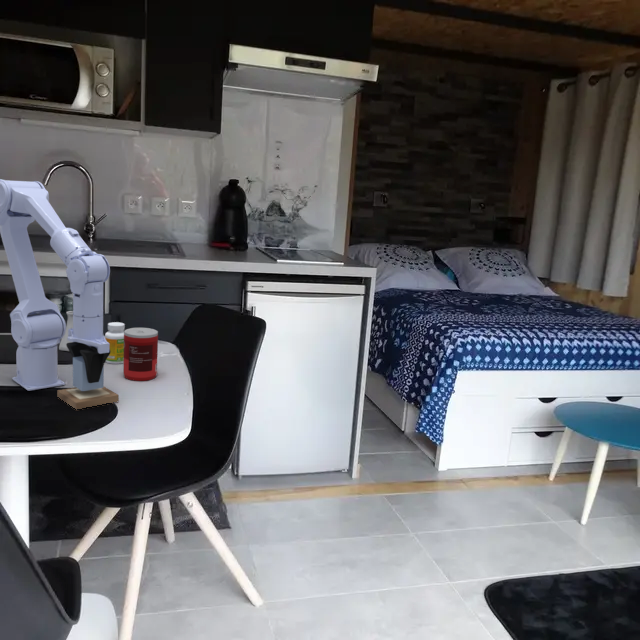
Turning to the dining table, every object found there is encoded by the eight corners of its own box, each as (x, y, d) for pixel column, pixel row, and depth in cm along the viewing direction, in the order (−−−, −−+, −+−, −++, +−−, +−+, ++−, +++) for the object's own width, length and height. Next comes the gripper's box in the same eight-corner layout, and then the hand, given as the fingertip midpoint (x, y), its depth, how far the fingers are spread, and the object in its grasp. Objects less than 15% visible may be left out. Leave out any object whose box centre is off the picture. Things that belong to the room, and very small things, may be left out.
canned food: (143, 369, 155) (144, 325, 153) (163, 377, 150) (165, 332, 148) (116, 375, 149) (116, 329, 147) (136, 383, 145) (137, 336, 142)
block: (72, 385, 131) (72, 357, 130) (93, 381, 134) (93, 354, 133) (82, 391, 128) (82, 362, 127) (103, 387, 131) (103, 359, 130)
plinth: (57, 397, 132) (57, 389, 131) (98, 390, 138) (98, 382, 138) (76, 410, 126) (76, 401, 125) (118, 402, 132) (118, 394, 132)
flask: (62, 344, 171) (62, 308, 169) (90, 346, 172) (90, 310, 170) (54, 351, 164) (54, 314, 162) (83, 353, 165) (83, 315, 163)
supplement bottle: (117, 365, 157) (118, 327, 155) (99, 362, 159) (100, 324, 157) (131, 360, 162) (132, 323, 160) (113, 357, 164) (114, 320, 162)
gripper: (53, 309, 130) (54, 372, 133) (85, 323, 120) (84, 391, 123) (86, 306, 135) (86, 367, 138) (119, 320, 125) (118, 385, 128)
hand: (88, 378), depth 131 cm, fingers closed on block, 4 cm apart
